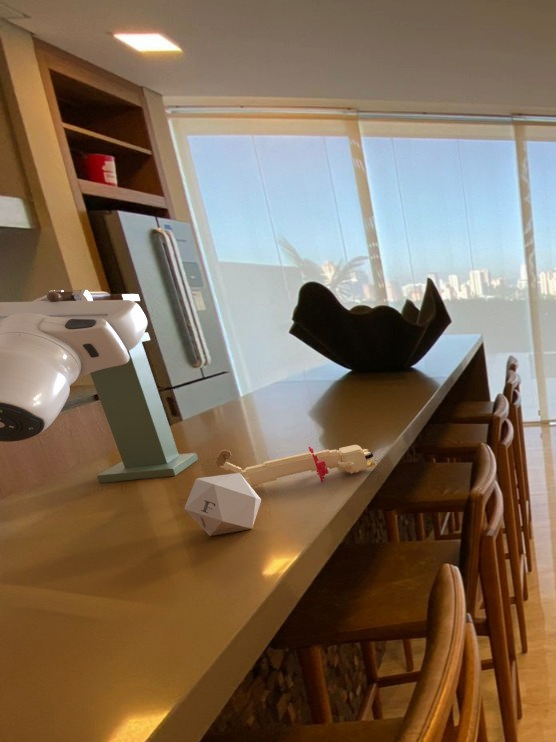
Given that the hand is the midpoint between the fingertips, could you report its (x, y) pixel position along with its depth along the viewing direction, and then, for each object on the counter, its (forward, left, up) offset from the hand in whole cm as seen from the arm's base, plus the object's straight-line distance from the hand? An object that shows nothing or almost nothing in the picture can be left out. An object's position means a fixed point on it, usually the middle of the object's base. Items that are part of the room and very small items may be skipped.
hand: (72, 294), depth 86 cm
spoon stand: (-6, +17, -33) cm, 38 cm away
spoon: (0, +5, -1) cm, 5 cm away
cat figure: (+25, 0, -33) cm, 42 cm away
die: (+19, -22, -33) cm, 44 cm away
